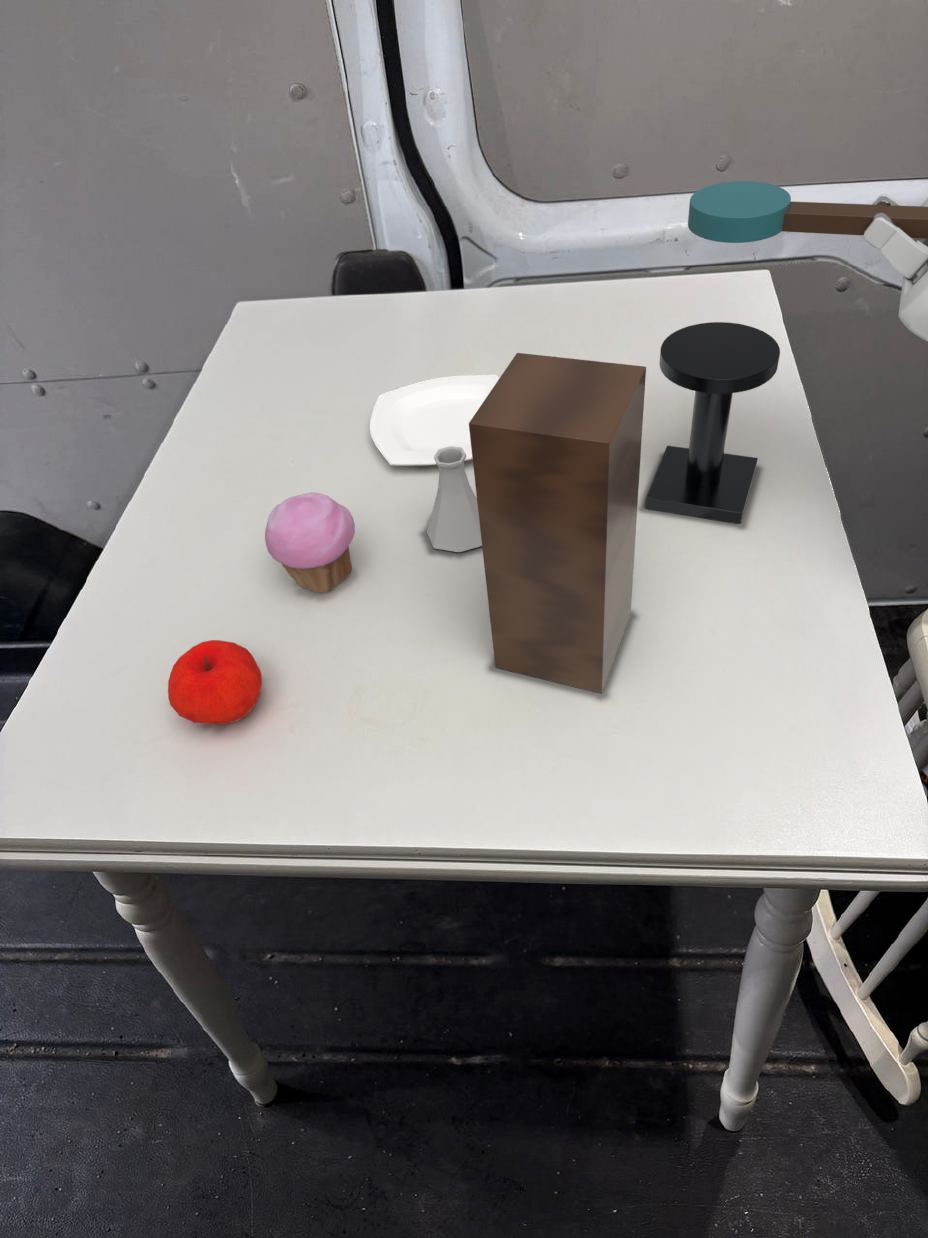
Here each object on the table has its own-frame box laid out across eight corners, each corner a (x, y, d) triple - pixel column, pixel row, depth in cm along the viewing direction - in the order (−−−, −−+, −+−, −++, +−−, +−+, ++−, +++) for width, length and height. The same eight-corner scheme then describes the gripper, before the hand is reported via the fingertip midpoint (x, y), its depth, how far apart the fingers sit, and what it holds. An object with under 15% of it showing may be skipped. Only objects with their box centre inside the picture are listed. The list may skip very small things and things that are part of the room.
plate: (540, 459, 98) (540, 445, 97) (378, 488, 97) (375, 474, 96) (509, 378, 111) (508, 365, 110) (366, 403, 111) (364, 389, 109)
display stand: (761, 466, 93) (787, 327, 81) (744, 528, 86) (771, 385, 74) (662, 452, 97) (674, 317, 85) (639, 510, 90) (648, 372, 78)
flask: (493, 552, 87) (486, 474, 80) (425, 556, 88) (411, 479, 81) (493, 508, 93) (486, 431, 85) (428, 513, 93) (416, 437, 86)
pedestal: (630, 615, 79) (646, 366, 61) (601, 693, 73) (609, 443, 55) (530, 594, 83) (516, 352, 64) (495, 668, 76) (468, 423, 58)
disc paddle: (941, 213, 68) (949, 186, 66) (939, 254, 63) (947, 227, 61) (698, 203, 74) (700, 179, 73) (678, 240, 69) (680, 214, 68)
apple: (184, 755, 73) (153, 703, 68) (184, 688, 78) (156, 635, 73) (275, 733, 74) (251, 679, 68) (268, 668, 79) (246, 613, 74)
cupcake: (381, 566, 88) (363, 489, 81) (332, 619, 83) (308, 543, 76) (315, 543, 91) (292, 468, 84) (264, 593, 87) (236, 518, 79)
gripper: (978, 406, 63) (829, 305, 62) (978, 286, 76) (854, 200, 75) (1056, 342, 58) (895, 232, 57) (1041, 225, 71) (909, 133, 70)
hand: (871, 213), depth 66 cm, fingers closed on disc paddle, 2 cm apart
